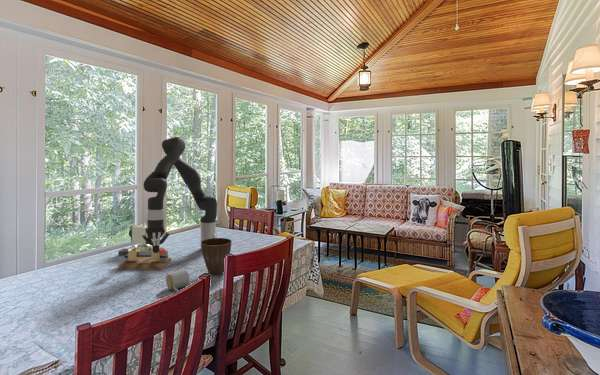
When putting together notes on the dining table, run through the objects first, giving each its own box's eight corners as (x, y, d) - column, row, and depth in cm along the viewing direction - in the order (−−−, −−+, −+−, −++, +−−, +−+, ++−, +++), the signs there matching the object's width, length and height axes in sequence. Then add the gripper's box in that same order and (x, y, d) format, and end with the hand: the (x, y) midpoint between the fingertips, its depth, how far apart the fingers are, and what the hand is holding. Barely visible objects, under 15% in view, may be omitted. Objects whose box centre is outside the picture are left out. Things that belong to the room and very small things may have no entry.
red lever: (159, 247, 181) (158, 243, 181) (165, 254, 169) (165, 249, 169) (154, 248, 180) (154, 243, 180) (160, 255, 168) (160, 250, 167)
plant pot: (236, 269, 175) (236, 238, 174) (223, 279, 161) (223, 246, 159) (210, 266, 178) (209, 237, 177) (195, 276, 164) (194, 244, 163)
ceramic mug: (165, 287, 149) (164, 271, 149) (183, 283, 155) (182, 267, 154) (174, 295, 142) (174, 277, 141) (193, 290, 147) (193, 273, 146)
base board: (171, 261, 188) (171, 257, 187) (162, 269, 174) (161, 265, 174) (131, 261, 187) (131, 257, 187) (118, 269, 173) (118, 265, 173)
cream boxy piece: (161, 252, 205) (161, 223, 203) (150, 255, 197) (149, 225, 196) (141, 248, 213) (140, 220, 211) (129, 251, 205) (127, 223, 203)
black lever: (137, 247, 181) (137, 243, 180) (123, 256, 166) (123, 251, 165) (133, 247, 181) (132, 243, 180) (118, 256, 165) (118, 251, 165)
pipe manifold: (168, 260, 183) (168, 247, 182) (165, 262, 178) (164, 249, 177) (127, 260, 182) (126, 247, 182) (122, 262, 177) (122, 249, 177)
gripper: (167, 216, 174) (167, 249, 176) (139, 218, 166) (139, 252, 168) (171, 218, 168) (171, 252, 170) (142, 220, 160) (143, 256, 162)
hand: (155, 252), depth 169 cm, fingers closed
